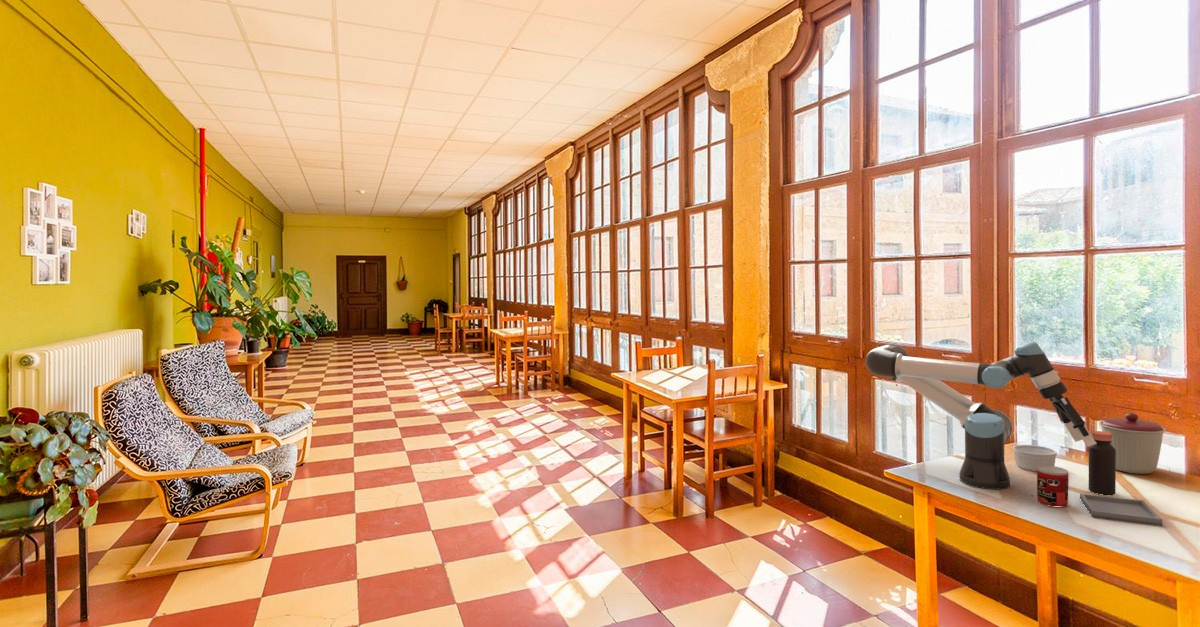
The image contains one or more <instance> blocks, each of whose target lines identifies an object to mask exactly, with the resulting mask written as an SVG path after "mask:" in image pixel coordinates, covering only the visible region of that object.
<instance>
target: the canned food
mask: <svg viewBox="0 0 1200 627" xmlns="http://www.w3.org/2000/svg"><path fill="white" fill-rule="evenodd" d="M1036 499H1037V502H1038V503H1039V502H1040V503H1039V504H1041V503H1042V504H1041V505H1043V504H1045V505H1044V506H1046V505H1050V506H1049V507H1051V506H1066V505H1067V506H1068V504H1069V470H1068V469H1066V468H1063V467H1060V466H1059V467H1058V466H1039V467H1037V471H1036ZM1067 506H1066V507H1067Z"/></svg>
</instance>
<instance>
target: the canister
mask: <svg viewBox="0 0 1200 627" xmlns="http://www.w3.org/2000/svg"><path fill="white" fill-rule="evenodd" d="M1124 415H1125V416H1124V417H1108V418H1105V419H1103V420H1100V421H1099V422H1098V424H1099V426H1101V431H1103V432H1109V433H1111V434H1112V442H1111V445H1112V446H1113V447H1114V448H1115V449H1116V470H1117V471H1119V472H1122V471H1123V472H1124V473H1127V474H1134V475H1135V474H1136V475H1149V474H1152V473H1154V472H1155V471H1156V470H1157V468H1158V464H1159V459H1160V456H1161V455H1160V454H1161V450H1162V449H1161V448H1162V443H1163V437H1164V436H1163V435H1164V433H1165V432H1166V431H1167V429H1166V428H1165V427H1163V426H1162V425H1161V424H1158V423H1156V422H1153V421H1150V420H1145V419H1139V415H1138V414H1137V413H1134V412H1127V413H1126V414H1124Z"/></svg>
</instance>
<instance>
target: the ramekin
mask: <svg viewBox="0 0 1200 627" xmlns="http://www.w3.org/2000/svg"><path fill="white" fill-rule="evenodd" d="M1012 451H1013V455H1014V461H1015V462H1014V463H1015V465H1017V467H1019V468H1020V469H1022V470H1026V471H1032V472H1037V467H1039V466H1054V467H1056V466H1055V465H1056V458H1057V456H1058V455H1057V450H1055V449H1054V448H1053V449H1052V448H1050V447H1047V446H1041V445H1033V444H1017V445H1014V446H1013V447H1012Z"/></svg>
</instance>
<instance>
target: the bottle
mask: <svg viewBox="0 0 1200 627" xmlns="http://www.w3.org/2000/svg"><path fill="white" fill-rule="evenodd" d="M1092 437H1093V439H1094V440H1095V442H1096V443H1097V444H1094V445H1091V446H1088V491H1089V490H1090V491H1089V492H1091V493H1092V492H1094V493H1093V494H1095V493H1098V494H1097V495H1099V494H1103V495H1102V496H1107V495H1111V496H1114V495H1115V496H1116V489H1117V488H1116V486H1117V485H1116V483H1117V482H1116V476H1117V475H1116V449H1115V448H1114V447H1113V446H1112V445H1111V442H1112V434H1111V433H1109V432H1103V431H1102V430H1094V431H1092Z"/></svg>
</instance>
